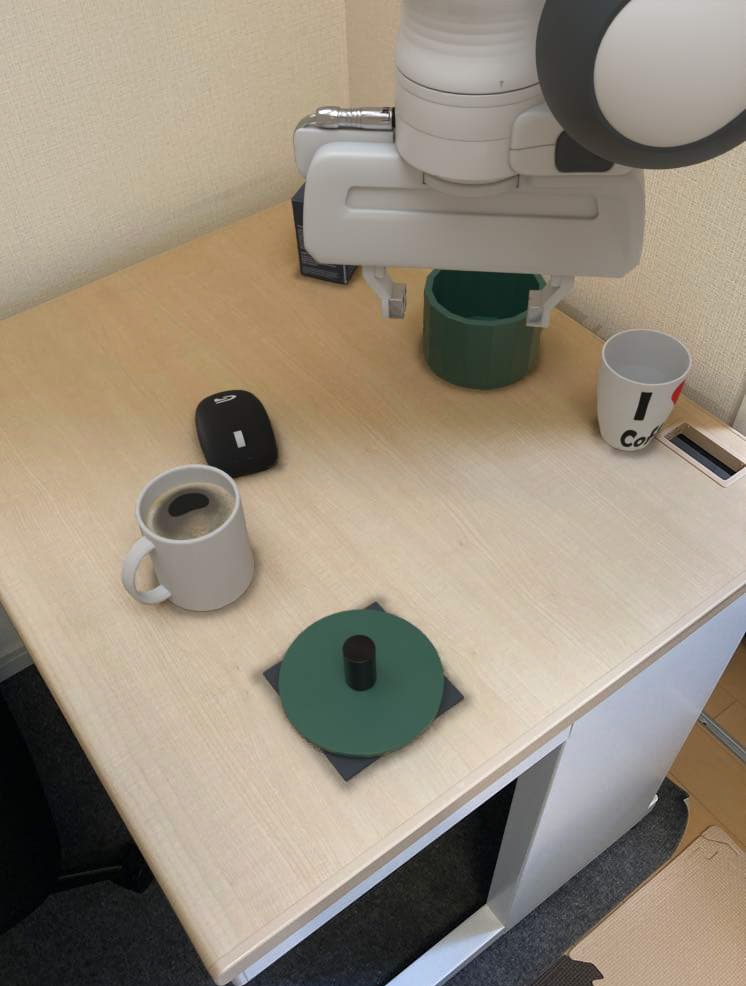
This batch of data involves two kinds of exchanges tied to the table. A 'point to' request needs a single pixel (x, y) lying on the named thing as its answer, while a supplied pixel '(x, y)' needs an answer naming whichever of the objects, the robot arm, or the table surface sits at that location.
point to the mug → (191, 539)
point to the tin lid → (361, 683)
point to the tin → (479, 326)
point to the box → (305, 259)
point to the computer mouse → (235, 433)
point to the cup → (639, 385)
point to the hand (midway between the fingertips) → (464, 317)
